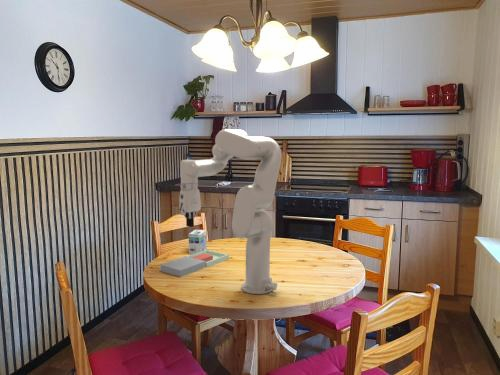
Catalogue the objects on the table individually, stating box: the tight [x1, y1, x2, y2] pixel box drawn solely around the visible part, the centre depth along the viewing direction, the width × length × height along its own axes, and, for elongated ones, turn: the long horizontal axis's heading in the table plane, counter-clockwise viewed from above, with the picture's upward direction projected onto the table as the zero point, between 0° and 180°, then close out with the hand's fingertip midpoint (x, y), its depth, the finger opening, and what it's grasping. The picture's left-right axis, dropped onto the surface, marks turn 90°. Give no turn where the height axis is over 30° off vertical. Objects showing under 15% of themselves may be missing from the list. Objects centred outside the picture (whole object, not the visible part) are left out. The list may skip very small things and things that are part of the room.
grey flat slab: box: [159, 255, 207, 278], centre depth 177 cm, size 13×16×3 cm
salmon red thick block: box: [192, 253, 213, 262], centre depth 188 cm, size 6×9×2 cm, turn 144°
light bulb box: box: [188, 228, 208, 255], centre depth 205 cm, size 11×7×11 cm, turn 168°
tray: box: [186, 249, 230, 268], centre depth 191 cm, size 15×16×2 cm
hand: (190, 226), depth 179 cm, fingers closed
